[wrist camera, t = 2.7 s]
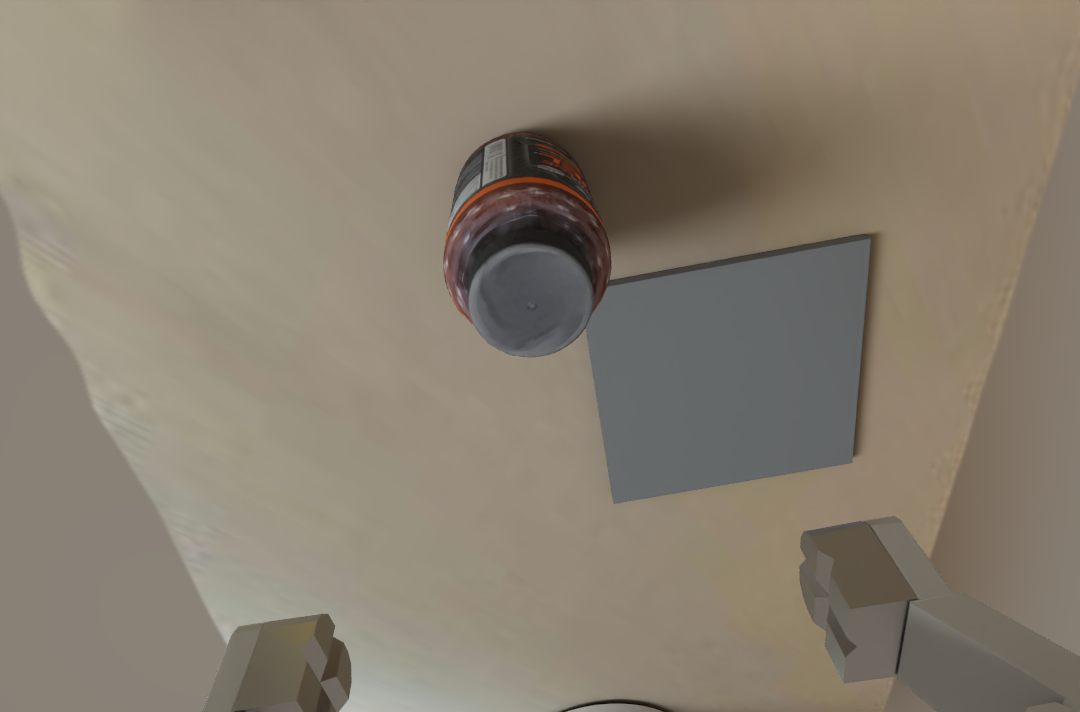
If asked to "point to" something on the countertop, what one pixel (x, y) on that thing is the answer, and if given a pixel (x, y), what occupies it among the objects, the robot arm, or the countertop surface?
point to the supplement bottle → (525, 246)
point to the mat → (730, 368)
